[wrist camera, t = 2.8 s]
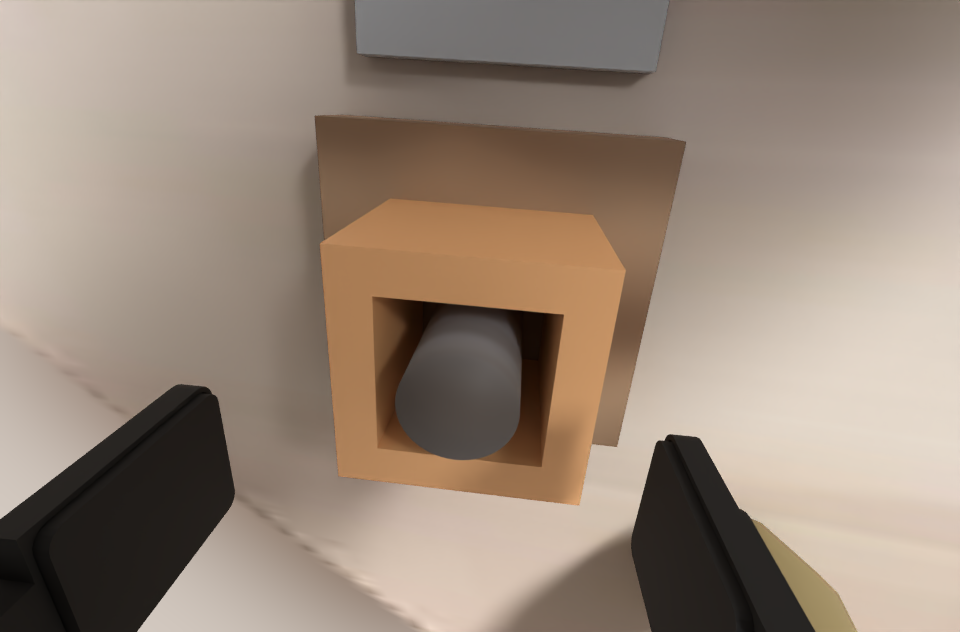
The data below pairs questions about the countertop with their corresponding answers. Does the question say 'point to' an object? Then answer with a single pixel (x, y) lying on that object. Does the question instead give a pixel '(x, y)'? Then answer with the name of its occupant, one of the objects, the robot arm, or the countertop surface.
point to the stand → (507, 184)
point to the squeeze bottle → (808, 587)
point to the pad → (516, 32)
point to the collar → (475, 282)
